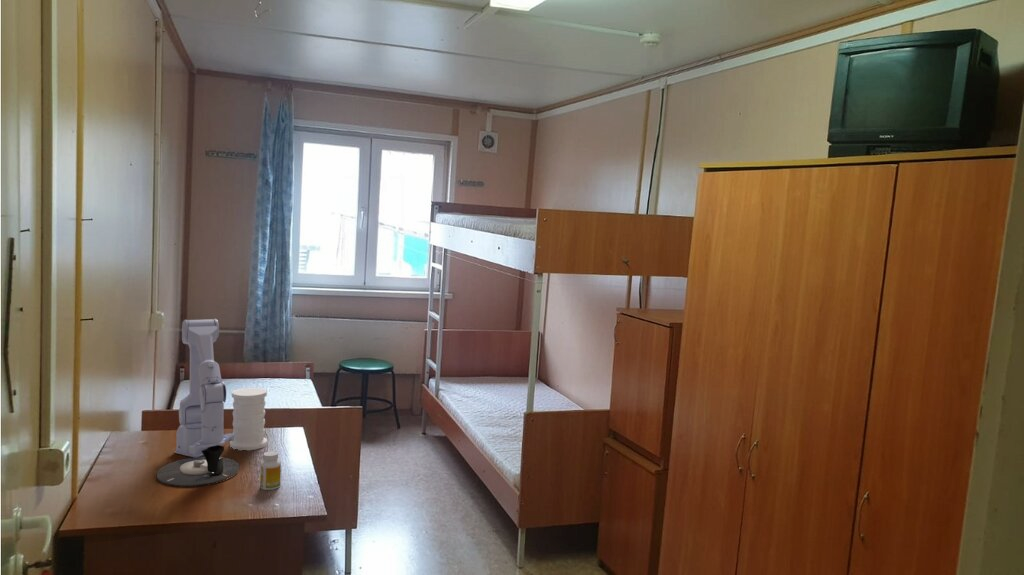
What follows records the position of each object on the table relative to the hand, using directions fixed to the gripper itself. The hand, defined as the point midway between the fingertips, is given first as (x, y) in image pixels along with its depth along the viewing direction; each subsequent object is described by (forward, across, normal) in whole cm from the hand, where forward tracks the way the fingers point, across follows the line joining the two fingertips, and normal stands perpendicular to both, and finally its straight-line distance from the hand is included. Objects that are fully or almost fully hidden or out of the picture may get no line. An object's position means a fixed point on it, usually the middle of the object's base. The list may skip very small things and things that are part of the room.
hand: (212, 471), depth 201 cm
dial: (+1, +2, +6) cm, 6 cm away
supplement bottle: (+3, +4, -18) cm, 18 cm away
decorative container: (+3, +28, +14) cm, 31 cm away
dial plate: (+2, +2, +8) cm, 8 cm away
